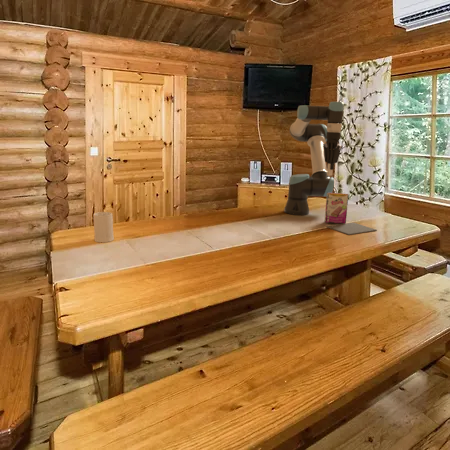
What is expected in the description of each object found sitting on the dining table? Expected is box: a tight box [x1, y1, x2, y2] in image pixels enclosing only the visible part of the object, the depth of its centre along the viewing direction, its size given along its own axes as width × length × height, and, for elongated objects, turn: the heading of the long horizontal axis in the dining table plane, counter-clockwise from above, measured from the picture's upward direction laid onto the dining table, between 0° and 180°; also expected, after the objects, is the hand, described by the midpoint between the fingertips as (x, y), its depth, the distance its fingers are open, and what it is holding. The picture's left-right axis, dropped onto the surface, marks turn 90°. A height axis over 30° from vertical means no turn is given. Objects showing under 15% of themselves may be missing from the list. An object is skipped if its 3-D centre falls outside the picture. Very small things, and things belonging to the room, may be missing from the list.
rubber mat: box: [326, 222, 378, 236], centre depth 208 cm, size 16×20×1 cm
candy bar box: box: [324, 192, 349, 224], centre depth 218 cm, size 11×5×16 cm, turn 84°
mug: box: [93, 211, 115, 244], centre depth 178 cm, size 12×8×12 cm
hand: (329, 175), depth 218 cm, fingers closed
